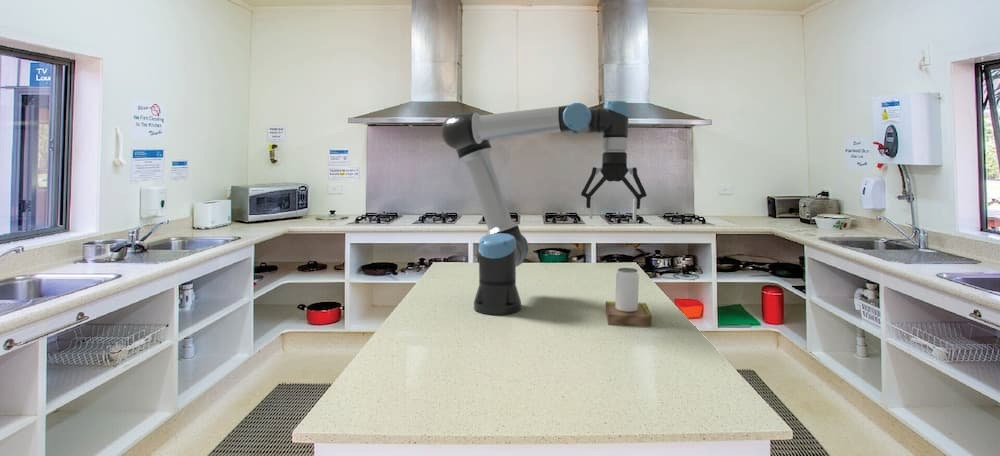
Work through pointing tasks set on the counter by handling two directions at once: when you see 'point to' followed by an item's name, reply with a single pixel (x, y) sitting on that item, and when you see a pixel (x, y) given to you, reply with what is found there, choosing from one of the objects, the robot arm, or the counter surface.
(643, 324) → the dock
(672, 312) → the counter surface
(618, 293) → the can
